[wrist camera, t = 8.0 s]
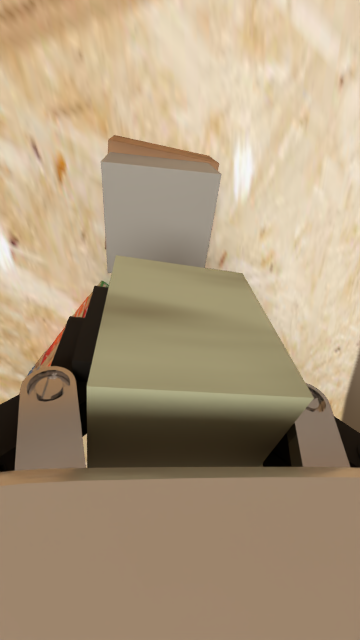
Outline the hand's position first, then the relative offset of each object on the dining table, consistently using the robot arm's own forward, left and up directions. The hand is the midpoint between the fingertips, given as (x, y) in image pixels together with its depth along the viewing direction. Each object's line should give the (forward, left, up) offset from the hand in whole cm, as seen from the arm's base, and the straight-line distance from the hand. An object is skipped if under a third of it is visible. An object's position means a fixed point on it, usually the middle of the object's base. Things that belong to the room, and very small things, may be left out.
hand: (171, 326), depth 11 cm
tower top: (0, 0, -17) cm, 17 cm away
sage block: (0, 0, -1) cm, 1 cm away
